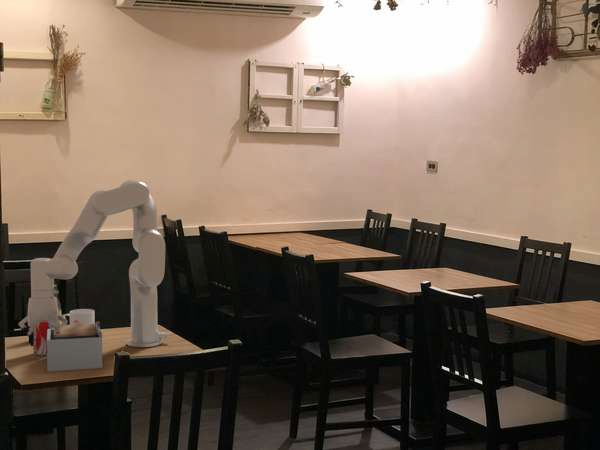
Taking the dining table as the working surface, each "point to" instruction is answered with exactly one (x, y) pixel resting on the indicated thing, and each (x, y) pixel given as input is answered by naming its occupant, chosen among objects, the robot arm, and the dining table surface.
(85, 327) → the flap
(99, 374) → the dining table surface
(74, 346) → the bin
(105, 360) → the dining table surface
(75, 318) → the mug
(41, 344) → the soda can
